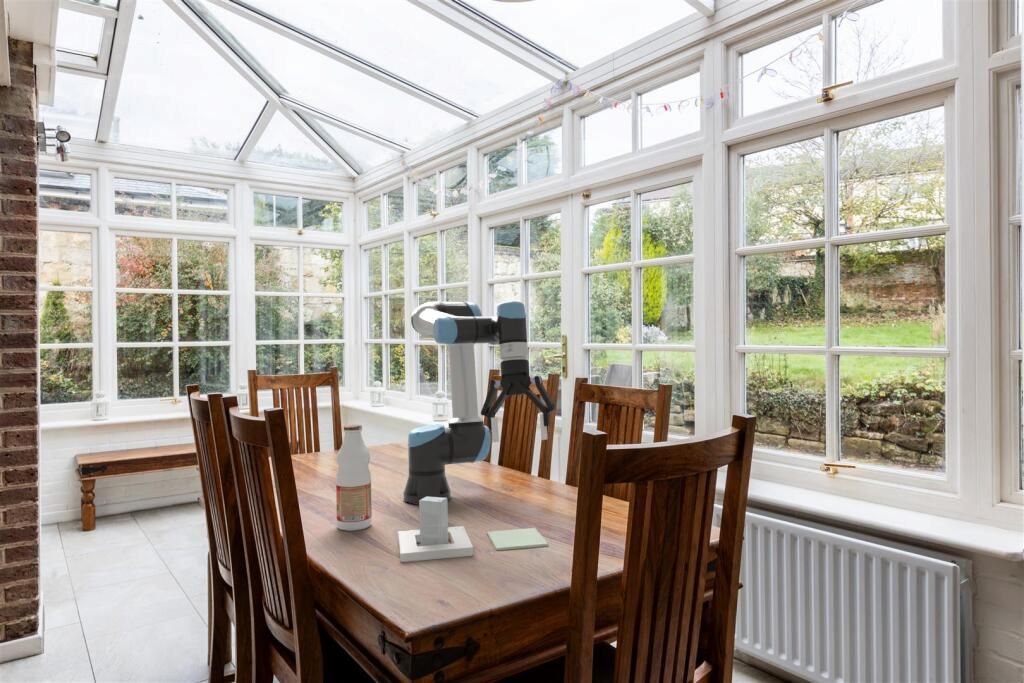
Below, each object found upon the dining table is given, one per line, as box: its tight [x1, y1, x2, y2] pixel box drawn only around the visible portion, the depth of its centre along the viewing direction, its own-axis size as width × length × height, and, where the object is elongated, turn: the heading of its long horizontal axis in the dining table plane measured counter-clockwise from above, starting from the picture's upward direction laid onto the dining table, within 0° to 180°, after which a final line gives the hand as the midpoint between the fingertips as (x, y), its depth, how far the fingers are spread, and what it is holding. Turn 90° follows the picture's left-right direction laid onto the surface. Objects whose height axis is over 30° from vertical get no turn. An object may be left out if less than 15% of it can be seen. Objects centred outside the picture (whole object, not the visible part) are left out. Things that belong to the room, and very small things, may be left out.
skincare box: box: [418, 497, 449, 546], centre depth 152 cm, size 6×4×12 cm
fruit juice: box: [335, 424, 373, 532], centre depth 170 cm, size 9×9×28 cm
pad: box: [486, 527, 549, 551], centre depth 157 cm, size 13×13×1 cm
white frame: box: [397, 525, 474, 563], centre depth 152 cm, size 17×17×2 cm
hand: (519, 441), depth 160 cm, fingers open, 13 cm apart
